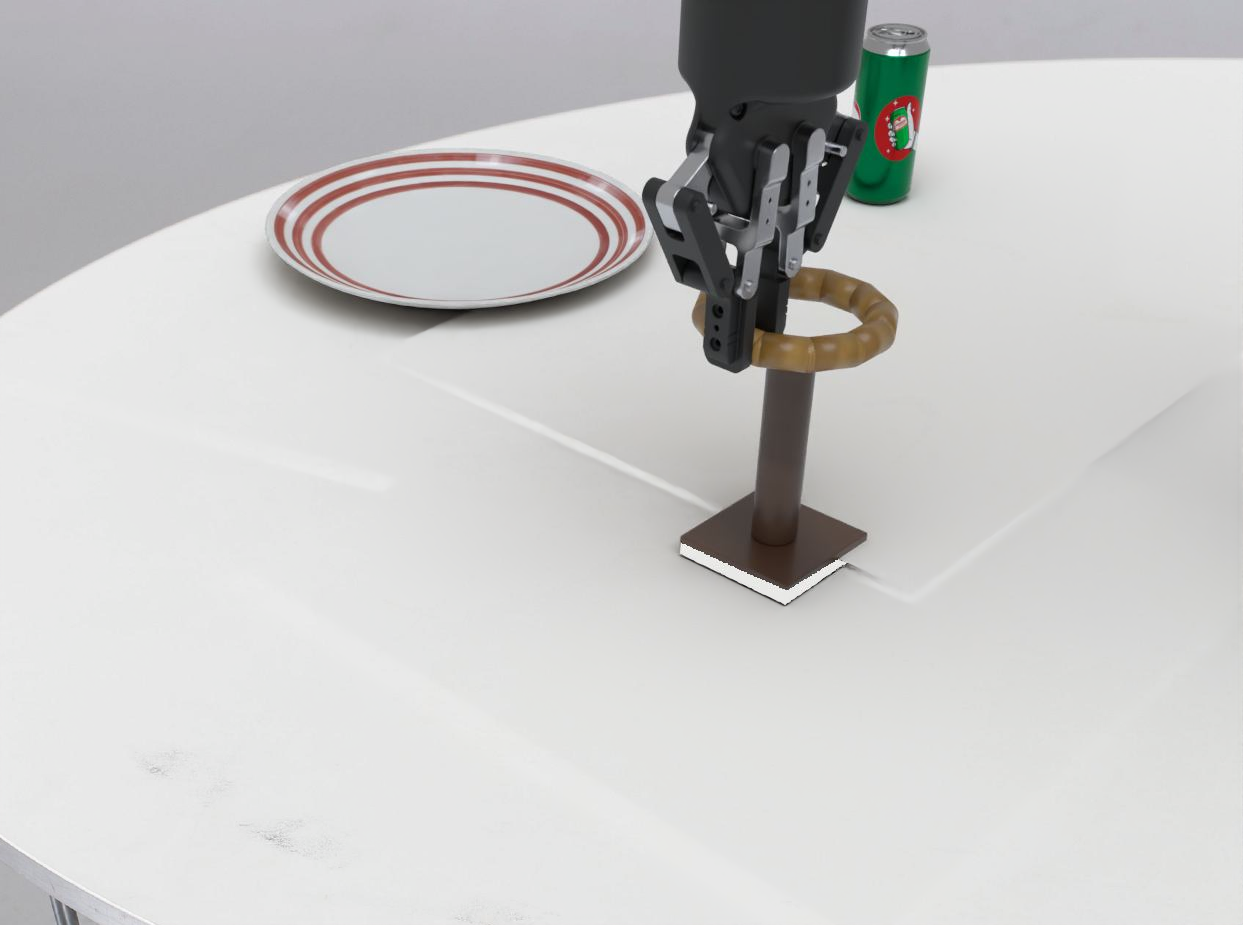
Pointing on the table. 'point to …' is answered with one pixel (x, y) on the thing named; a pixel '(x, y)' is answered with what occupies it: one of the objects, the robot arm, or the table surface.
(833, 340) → the ring
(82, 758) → the table surface
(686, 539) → the stand
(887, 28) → the soda can
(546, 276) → the dinner plate
